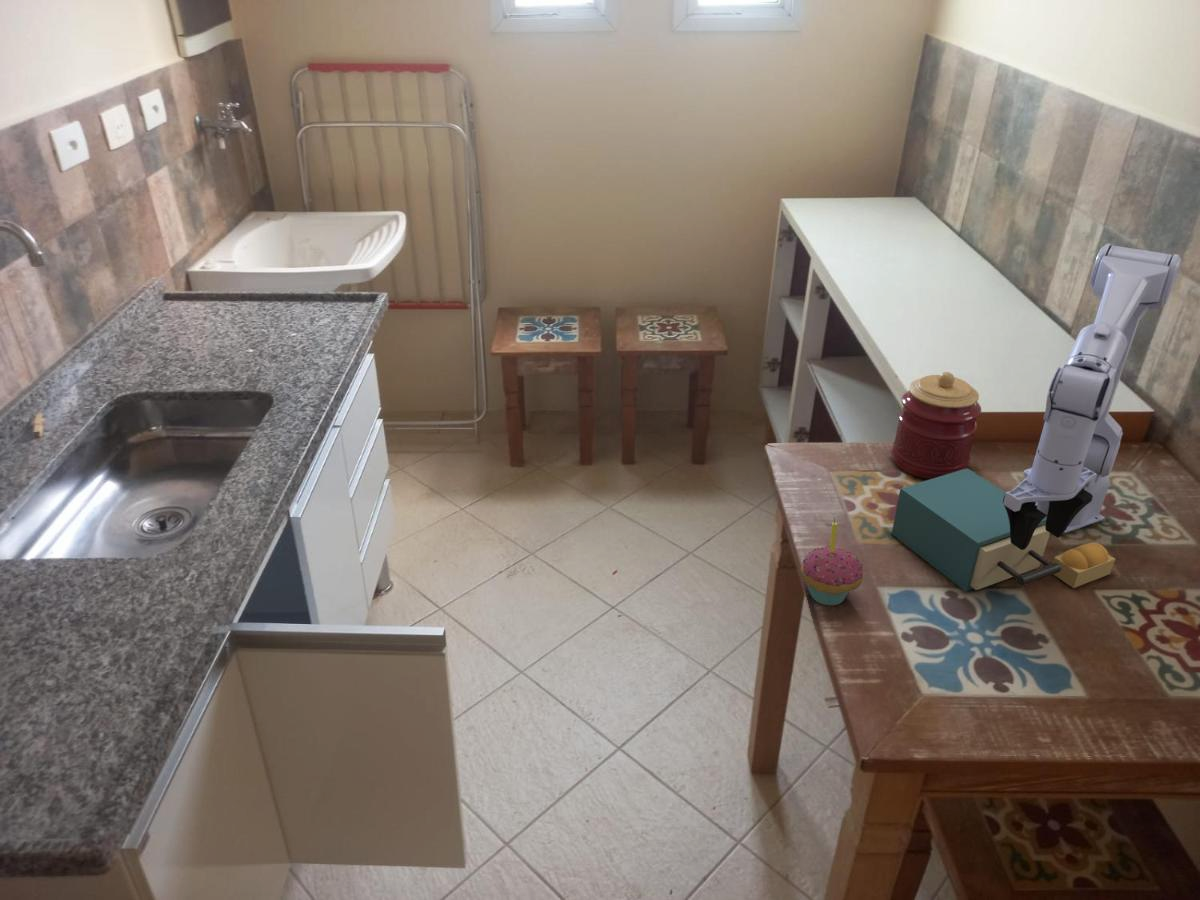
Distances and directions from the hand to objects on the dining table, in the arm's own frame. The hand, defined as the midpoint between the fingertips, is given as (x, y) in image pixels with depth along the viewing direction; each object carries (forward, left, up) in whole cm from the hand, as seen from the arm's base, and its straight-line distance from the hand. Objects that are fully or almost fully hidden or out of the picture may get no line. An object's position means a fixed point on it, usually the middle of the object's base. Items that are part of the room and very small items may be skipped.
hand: (1035, 539), depth 121 cm
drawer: (0, -7, -8) cm, 11 cm away
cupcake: (+25, -11, -10) cm, 29 cm away
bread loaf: (-11, 0, -9) cm, 15 cm away
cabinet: (0, -11, -9) cm, 15 cm away
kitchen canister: (-14, -33, -10) cm, 37 cm away
